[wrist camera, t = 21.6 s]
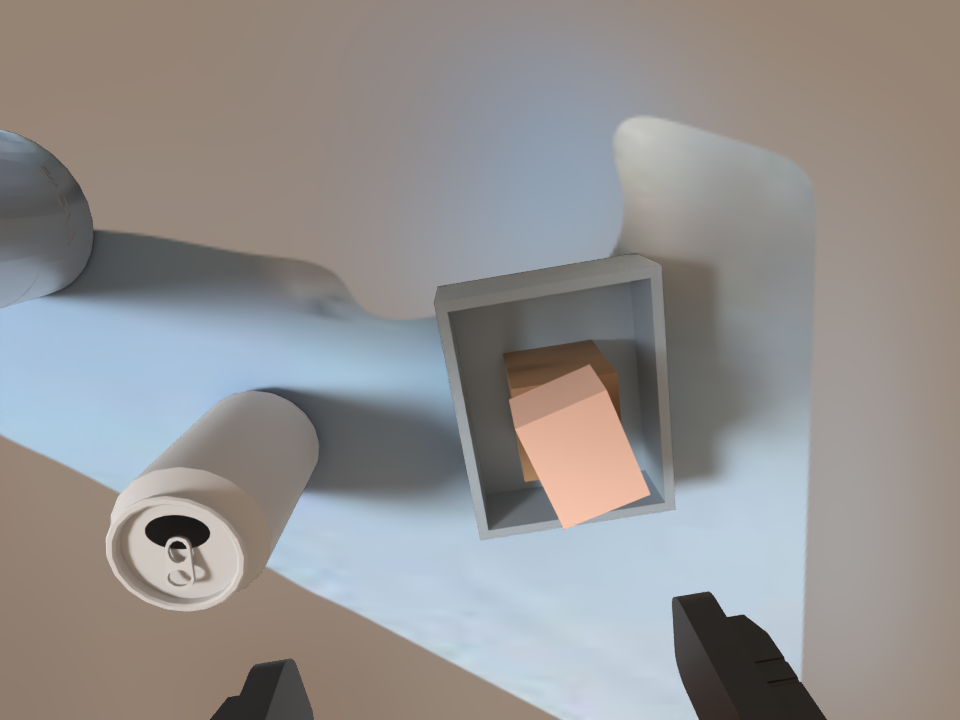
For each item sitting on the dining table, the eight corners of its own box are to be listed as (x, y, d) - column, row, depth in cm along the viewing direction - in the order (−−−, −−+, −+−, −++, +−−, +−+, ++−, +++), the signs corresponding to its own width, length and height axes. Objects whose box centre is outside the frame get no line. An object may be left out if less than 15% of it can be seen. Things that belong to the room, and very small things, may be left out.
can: (318, 385, 35) (248, 486, 24) (327, 488, 37) (267, 625, 26) (198, 385, 35) (69, 487, 23) (215, 489, 37) (105, 627, 26)
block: (599, 420, 36) (625, 466, 30) (514, 433, 36) (524, 481, 30) (591, 339, 34) (617, 372, 28) (503, 353, 34) (510, 389, 28)
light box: (553, 490, 30) (564, 529, 27) (509, 399, 29) (515, 429, 25) (629, 458, 30) (650, 494, 27) (589, 364, 28) (606, 389, 25)
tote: (478, 499, 38) (480, 540, 34) (437, 286, 33) (433, 303, 29) (651, 471, 38) (675, 509, 33) (635, 253, 33) (661, 264, 29)
